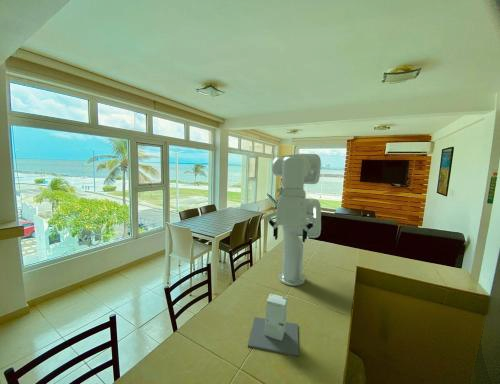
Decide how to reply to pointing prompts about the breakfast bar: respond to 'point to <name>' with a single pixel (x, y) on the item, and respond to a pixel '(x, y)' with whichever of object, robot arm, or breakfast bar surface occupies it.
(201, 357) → the breakfast bar surface
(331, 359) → the breakfast bar surface
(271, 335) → the skincare box
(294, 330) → the mat
